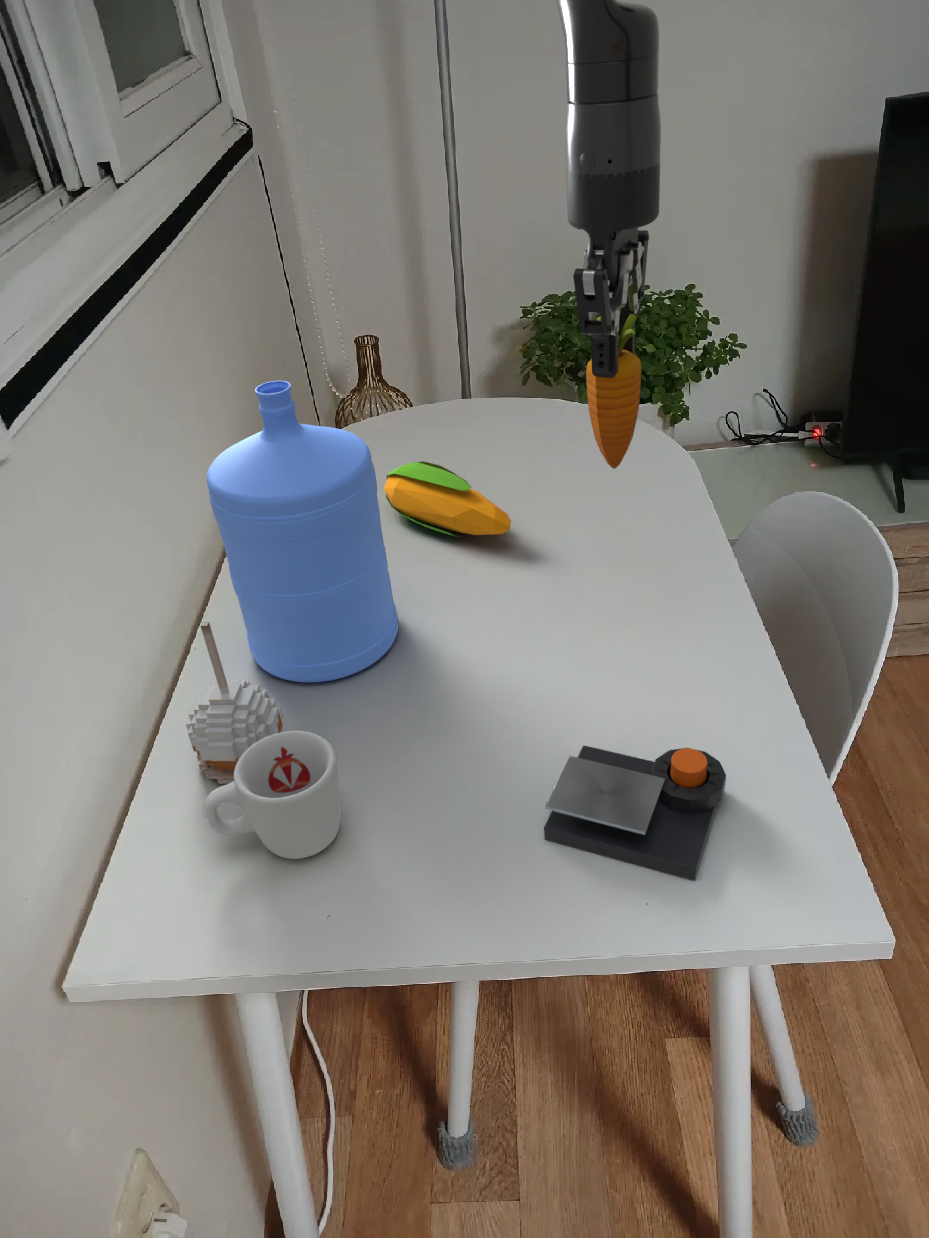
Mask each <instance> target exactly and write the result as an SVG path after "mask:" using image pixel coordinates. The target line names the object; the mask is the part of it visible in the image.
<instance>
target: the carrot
mask: <svg viewBox="0 0 929 1238" xmlns="http://www.w3.org/2000/svg"><path fill="white" fill-rule="evenodd" d="M637 319H638V316H637V315H636V314H633V315H631V314H630V316H629V317H628V318H627V320H626V322H625V324H624V327H623V330H622V333H621V336H619V335H618V372H617V374H616V375H615V376H614V377H613V378H605V377H596V376H594V375H593V374H592V358H591V359H590V360H589V361H588V362H587V364H586V368H585V369H586V370H585V375H586V377H585V378H586V393H587V394H586V395H587V406H588V407H587V408H588V414H589V419H590V423H591V428H592V432H593V435H594V440H595V442H596V444H597V447H598V449H599V452H600V453H601V455H602V457H603V458H604V460H605V462H606V464H607V465H608V466H609V467H610V468H612V469H613V470H614V469H617V468H618V467H619V466H620V464H621V463H622V461H623V459H624V458H625V456H626V453H627V452H628V450H629V448H630V445H631V442H632V440H633V438H634V433H635V429H636V424H637V421H638V415H639V409H640V400H641V398H640V397H641V387H642V386H641V384H642V380H641V379H642V362H641V359H640V358H639V357H638V356H637V355H636V354H634V353H633V354H632V353H631V352H629V351H627V350H622V349H623V347H624V345H625V343H626V342H627V340H628V339H629V338H630V337H632V336H634V335H635V336H636V330H635V331H634V330H633V329H631V328H632V326H633V324H634V322H635V323H636V320H637ZM597 320H600V321H601V315H600V316H598V317H597Z"/></svg>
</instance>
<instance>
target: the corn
mask: <svg viewBox="0 0 929 1238" xmlns="http://www.w3.org/2000/svg"><path fill="white" fill-rule="evenodd" d="M383 491H384V493H385V498H386V500H387V501H388V504H389V505H390V507H391V508H393V509H394V510H395V512H397V513H399V514H400V516H403V517H405V518H406V519H408V520H410V521H412V522H413V523H415V524H417V525H420V526H423V527H425V528H428V529H430V530H432V531H435V532H437V533H442V534H445V535H449V536H453V537H455V538H461V537H460V535H459V534H456V533H451V531H452V532H458V533H463V534H468V535H471V536H487V535H490V536H491V535H503V534H505V533H506V532H508V531H510V530H511V525H512V520H511V519H510V517H509V515H508V513H507V512H506V511H504V510H503V509H501V508H500V507H499V506H498V505H496V504H495V503H493V502H492V501H491V500H489V499H488V498H487V497H486V496H484V495H483V494H482V493H481V492H480V491H478V490H475V489H472V485H471V484H469V482H468V481H467V480H466V479H464V478H463V477H461V476H460V475H458V474H457V473H455V472H453V471H452V470H450V469H448V468H446V467H444V466H442V465H440V464H436V463H431V462H428V461H424V460H422V461H421V460H420V461H414V462H408V463H405V464H403V465H401V466H398V467H396V468H393V469H392V470H391V471H390V472H389V473H388V474H387V475H386V482H385V485H384V488H383ZM446 530H447V531H446ZM449 531H450V532H449Z"/></svg>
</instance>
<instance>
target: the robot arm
mask: <svg viewBox="0 0 929 1238" xmlns="http://www.w3.org/2000/svg"><path fill="white" fill-rule="evenodd" d="M555 1H556V7H557V10H558V15H559V19H560V23H561V29H562V32H563V37H564V44H565V59H566V60H565V69H566V71H565V72H566V73H565V75H566V100H567V102H566V118H565V129H564V130H565V131H564V144H565V145H564V146H565V177H566V178H565V179H566V208H567V210H566V211H567V222H568V223H569V225H570V226H571V227H573V228H574V229H577V230H583V231H584V232H585V233H587V234H588V240H587V249H585V250H584V254H583V268H578V267H577V268H575V269H574V272H573V276H572V277H573V278H572V279H573V284H574V292H575V293H574V294H575V299H576V307H577V315H578V322H579V323H578V324H579V331H580V335H583V336H590V342H591V343H590V349H591V359H592V374H593V375H594V376H596V377H605V378H613V377H614V376H615V375H616V374H617V372H618V335H619V336H621V333H622V330H623V327H624V324H625V322H626V320H627V318H628V317H629V316H630V314H631V315H637V314H638V311H639V309H640V304H639V302H642V301H643V300H644V297H645V286H646V285H645V284H646V274H647V260H648V250H649V240H650V233H649V230H646V229H643V230H641V229H639V228H642V227H645V226H648V225H650V224H652V223H653V222H654V221H656V219H657V218H658V217H659V214H660V194H661V193H660V187H661V185H660V184H661V141H662V140H661V139H662V137H661V134H662V129H661V128H662V123H661V114H660V113H661V112H660V104H659V93H658V92H659V69H660V68H659V67H660V66H659V65H660V63H659V62H660V61H659V60H660V24H659V20H658V16H657V14H656V12H655V10H654V9H652V8H650V6H649V7H648V6H647V5H644V4H639V3H633V2H626V1H620V0H555ZM598 315H600V316H601V321H600V320H597V318H598V317H599V316H598ZM631 329H633V330H634V331H635V332H636V321H635V322H634V324H633V326H632V328H631ZM622 350H627V351H629V352H631V353H632V354H634V353H635V351H636V334H635V335H634V336H632V337H630V338H629V339H628V340H627V342H626V343H625V345H624V347H623V349H622Z"/></svg>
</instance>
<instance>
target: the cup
mask: <svg viewBox="0 0 929 1238" xmlns="http://www.w3.org/2000/svg"><path fill="white" fill-rule="evenodd" d="M338 774H339V773H338V763H337V757H336V752H335V750H334V748H333V746H332V744H331V743H330V742H329V741H328V740H327V739H326V738H324V737H323V736H321V735H319V734H316V733H314V732H310V731H305V730H286V731H283V732H280V733H276V734H273V735H270V736H268V737H265V738H263V739H261V740H259V741H258V742H256V743H254V744H253V745H252V746H251V747H249V748H248V749H247V750H246V751H245V752H244V753H243V754H242V756H241V757H240V759H239V760H238V762H237V764H236V766H235V770H234V781H233V782H231V783H225V784H224V785H222V786H219V787H217V788H215V789H213V790H212V791H211V792H210V793H209V794H208V795H207V797H206V799H205V802H204V812H205V813H204V814H205V816H206V819H207V822H208V824H209V825H210V827H211V828H212V829H213V831H215V832H217V833H219V835H223V836H236V835H241V834H245V833H250V832H252V833H255V834H256V835H257V837H259V839H260V840H261V842H262V843H263V845H264V847H266V848H267V850H269V851H270V852H271V853H272V854H274V855H276V856H278V857H281V858H283V859H289V860H299V859H304V858H309V857H312V856H315V855H316V854H318V853H320V852H322V851H323V850H324V849H326V848H327V847H329V845H330V844H331V843H332V842H333V841H334V840H335V838H336V837H337V835H338V832H339V831H340V826H341V820H342V819H341V816H342V814H341V813H342V811H341V800H340V787H339V775H338ZM227 803H233V804H235V805H237V806H238V807H239V808H240V809H241V810H242V814H241V816H240V817H238V818H235V819H233V820H232V819H231V820H227V819H225V818H223V817H221V816H220V815H219V813H218V811H217V808H219V806H220V805H222V804H227Z"/></svg>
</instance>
